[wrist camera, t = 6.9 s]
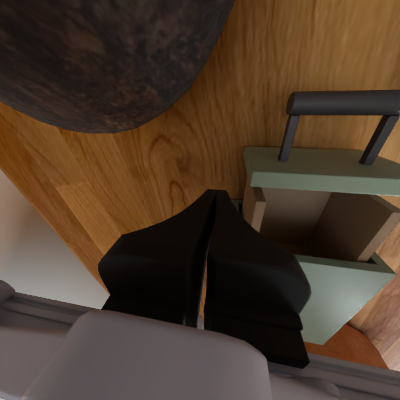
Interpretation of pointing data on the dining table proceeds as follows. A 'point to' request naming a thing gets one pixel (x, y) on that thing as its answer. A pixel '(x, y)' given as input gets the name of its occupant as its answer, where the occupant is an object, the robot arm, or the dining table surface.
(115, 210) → the dining table surface
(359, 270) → the cabinet
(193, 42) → the jug
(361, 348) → the bread
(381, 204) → the drawer
